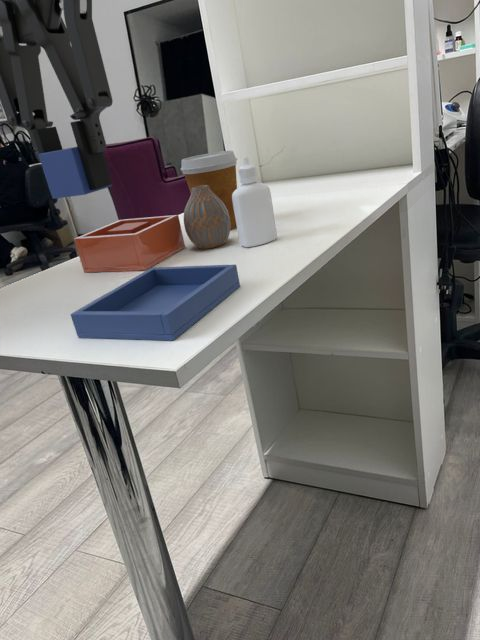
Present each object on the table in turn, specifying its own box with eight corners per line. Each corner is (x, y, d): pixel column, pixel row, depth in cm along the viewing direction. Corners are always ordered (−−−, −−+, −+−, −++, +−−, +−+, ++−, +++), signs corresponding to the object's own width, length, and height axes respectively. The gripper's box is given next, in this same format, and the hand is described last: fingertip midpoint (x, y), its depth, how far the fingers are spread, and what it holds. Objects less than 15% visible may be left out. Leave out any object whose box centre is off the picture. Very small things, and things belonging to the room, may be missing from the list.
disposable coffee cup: (182, 235, 93) (166, 163, 88) (217, 221, 99) (204, 153, 94) (225, 235, 87) (211, 158, 82) (259, 220, 94) (247, 148, 89)
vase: (231, 236, 86) (220, 179, 82) (236, 245, 80) (225, 184, 76) (188, 244, 85) (176, 188, 82) (190, 254, 79) (177, 194, 76)
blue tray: (77, 337, 55) (70, 314, 54) (156, 287, 67) (151, 267, 66) (173, 340, 50) (167, 314, 49) (240, 286, 62) (236, 264, 61)
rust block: (115, 260, 81) (106, 231, 79) (132, 252, 84) (125, 223, 83) (139, 259, 79) (131, 229, 77) (156, 250, 83) (149, 221, 81)
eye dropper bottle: (239, 242, 81) (224, 159, 76) (276, 236, 81) (264, 152, 76) (240, 249, 77) (225, 162, 72) (279, 242, 77) (266, 154, 72)
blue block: (52, 199, 57) (37, 154, 55) (80, 190, 60) (68, 148, 58) (85, 194, 55) (71, 148, 53) (112, 186, 58) (100, 142, 57)
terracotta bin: (84, 272, 80) (73, 238, 78) (128, 250, 89) (120, 219, 87) (145, 270, 75) (136, 234, 73) (185, 247, 84) (178, 214, 82)
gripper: (105, -102, 47) (169, 173, 57) (-31, -44, 55) (46, 191, 64) (44, -125, 41) (127, 187, 51) (-100, -56, 49) (-3, 205, 58)
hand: (82, 189), depth 57 cm, fingers closed on blue block, 4 cm apart
